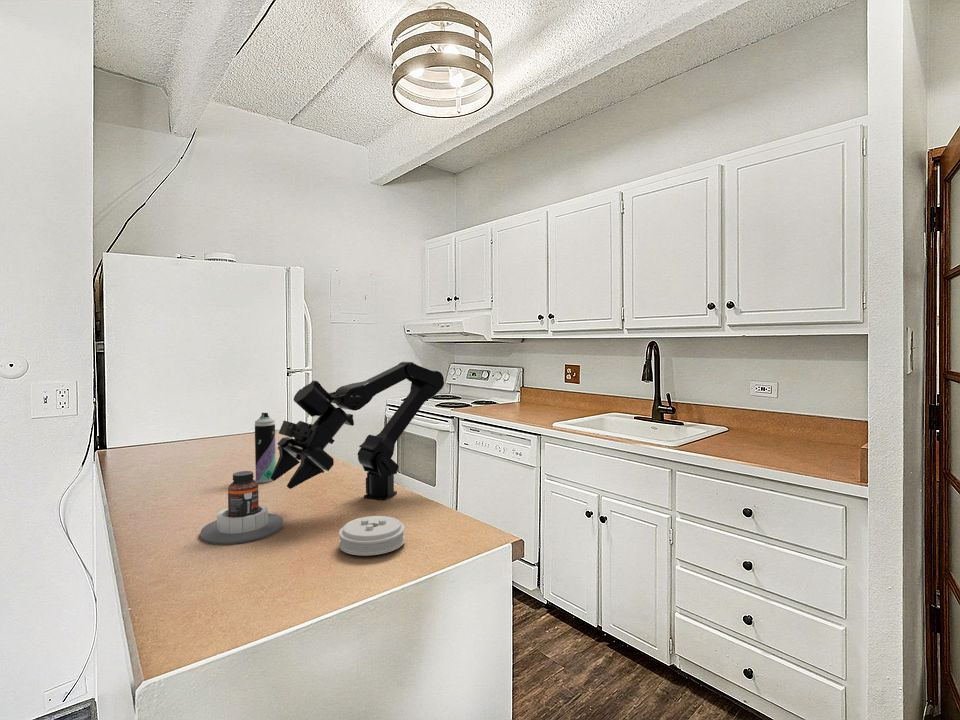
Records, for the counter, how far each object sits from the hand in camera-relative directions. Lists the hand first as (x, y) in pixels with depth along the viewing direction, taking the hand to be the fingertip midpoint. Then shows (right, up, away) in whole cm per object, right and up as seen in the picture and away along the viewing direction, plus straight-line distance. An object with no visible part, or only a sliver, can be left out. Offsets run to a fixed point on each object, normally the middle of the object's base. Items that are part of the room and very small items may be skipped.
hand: (280, 483), depth 114 cm
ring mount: (-6, -9, -5) cm, 12 cm away
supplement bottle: (-6, -8, -5) cm, 11 cm away
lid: (+24, -9, -14) cm, 29 cm away
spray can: (-18, -8, +34) cm, 39 cm away
